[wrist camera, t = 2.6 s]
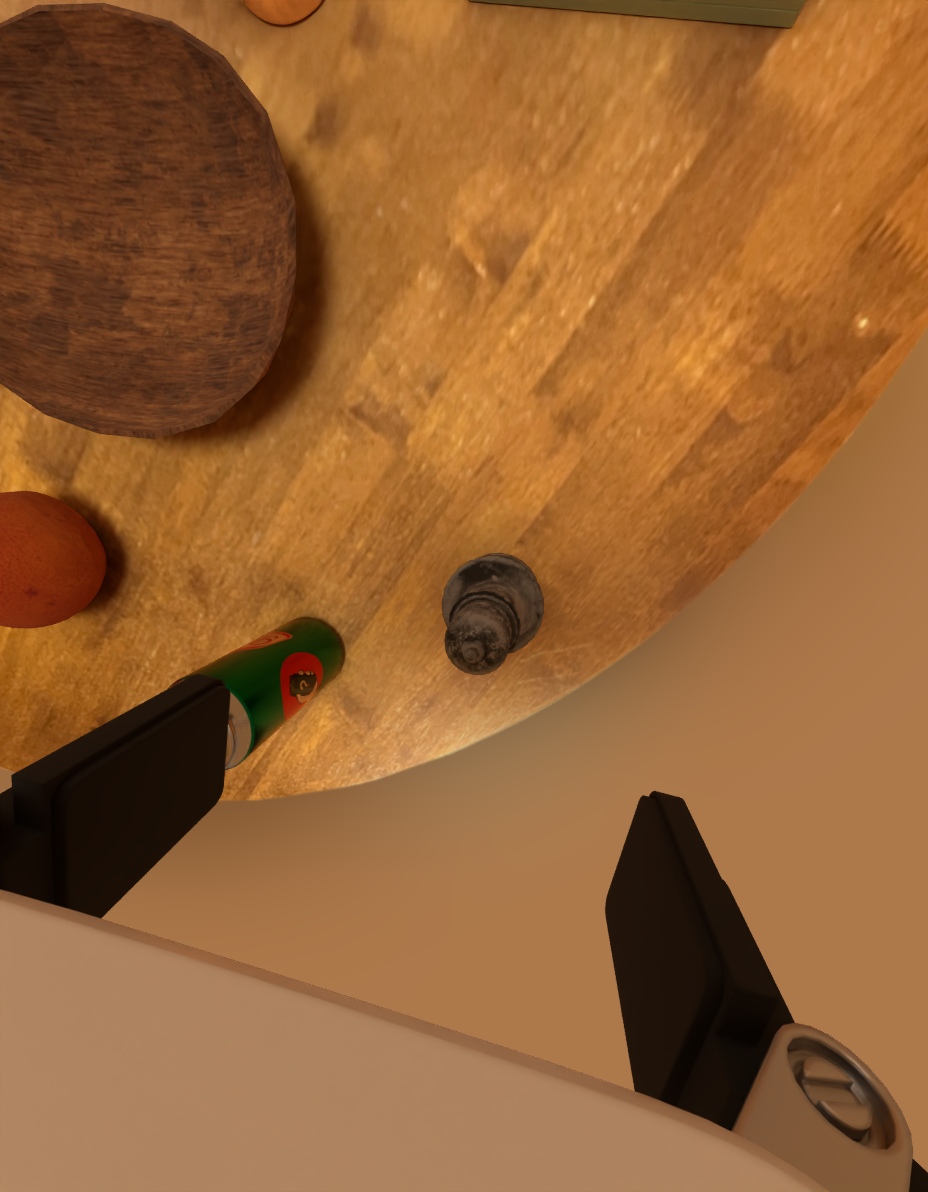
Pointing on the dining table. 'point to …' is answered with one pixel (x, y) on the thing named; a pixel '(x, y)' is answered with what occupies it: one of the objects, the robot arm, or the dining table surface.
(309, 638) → the soda can
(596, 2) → the box
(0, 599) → the fruit
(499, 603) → the chess piece
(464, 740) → the dining table surface
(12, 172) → the bowl
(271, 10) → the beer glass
